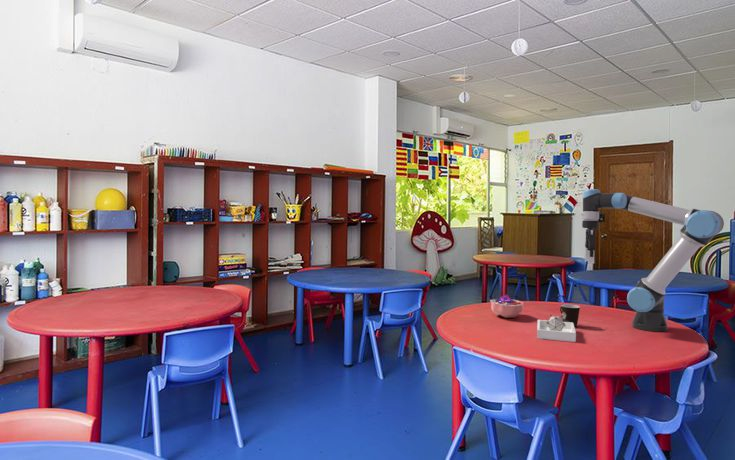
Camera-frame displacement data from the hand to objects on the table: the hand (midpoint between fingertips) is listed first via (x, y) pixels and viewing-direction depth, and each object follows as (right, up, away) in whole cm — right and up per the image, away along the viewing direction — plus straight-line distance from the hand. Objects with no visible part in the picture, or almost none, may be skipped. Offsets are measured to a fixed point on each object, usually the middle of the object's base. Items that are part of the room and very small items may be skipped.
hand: (589, 262), depth 246 cm
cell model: (-37, -31, +16) cm, 51 cm away
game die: (-25, -31, -20) cm, 45 cm away
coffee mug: (-11, -32, -2) cm, 34 cm away
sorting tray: (-25, -32, -20) cm, 45 cm away
